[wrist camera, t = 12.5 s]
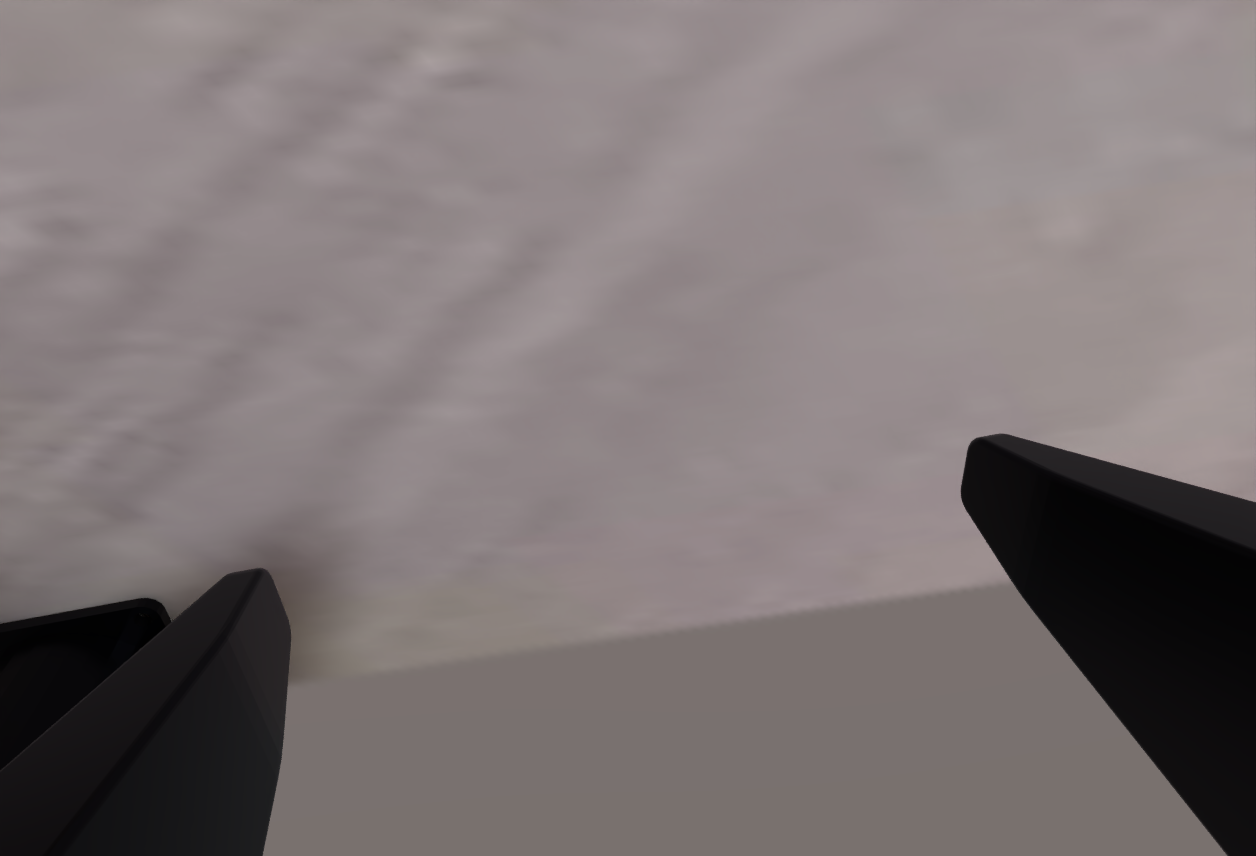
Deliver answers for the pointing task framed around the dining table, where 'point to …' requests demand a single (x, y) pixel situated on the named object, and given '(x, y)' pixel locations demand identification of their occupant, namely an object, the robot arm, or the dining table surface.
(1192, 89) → the dining table surface
